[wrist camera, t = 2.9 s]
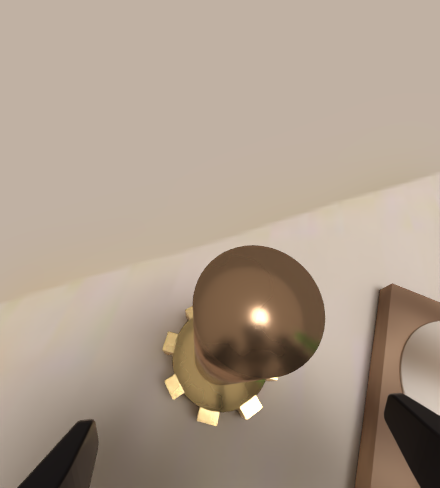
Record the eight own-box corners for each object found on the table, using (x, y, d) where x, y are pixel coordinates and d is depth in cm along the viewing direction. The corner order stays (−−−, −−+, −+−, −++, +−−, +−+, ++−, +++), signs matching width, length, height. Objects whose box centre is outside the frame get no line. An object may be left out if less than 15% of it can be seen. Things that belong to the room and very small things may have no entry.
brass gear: (199, 449, 15) (208, 615, 4) (147, 340, 18) (64, 255, 7) (291, 377, 18) (466, 356, 6) (233, 289, 20) (282, 160, 9)
